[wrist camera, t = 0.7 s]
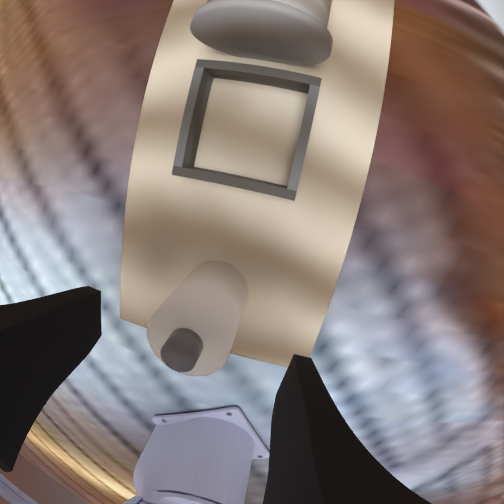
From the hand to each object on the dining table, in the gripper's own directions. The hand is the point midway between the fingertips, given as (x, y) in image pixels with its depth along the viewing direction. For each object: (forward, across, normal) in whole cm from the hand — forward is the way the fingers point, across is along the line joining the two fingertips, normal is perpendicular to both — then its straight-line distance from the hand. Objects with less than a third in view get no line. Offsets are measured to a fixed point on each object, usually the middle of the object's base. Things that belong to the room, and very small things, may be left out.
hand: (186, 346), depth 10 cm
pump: (+9, +1, +2) cm, 9 cm away
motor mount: (+10, +1, -6) cm, 11 cm away
